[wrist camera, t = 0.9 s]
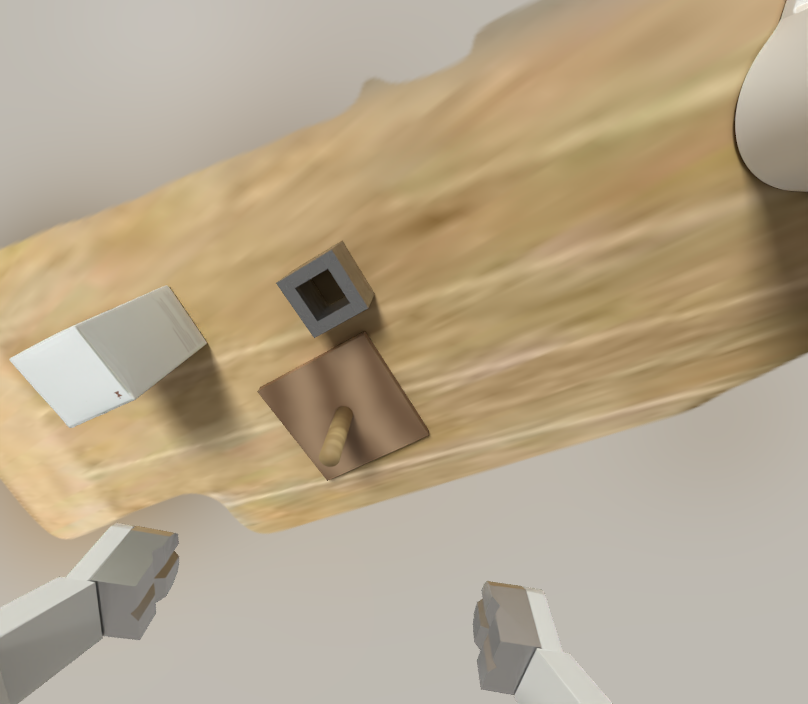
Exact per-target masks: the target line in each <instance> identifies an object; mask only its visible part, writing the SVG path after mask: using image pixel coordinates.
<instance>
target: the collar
mask: <svg viewBox="0 0 808 704" xmlns="http://www.w3.org/2000/svg"><path fill="white" fill-rule="evenodd" d="M326 269H329V271H330V273H331V274H332V276H333V277H334V279H335V280H336V282H337V284H338V285H339V287H340V288H341V290H342V291H343V293H344V294H345V297H343V298H341V299H340V300H338V301H336V302H334V303H332V304H331V305H328V303H327V302H326V300H325V299H324V297H323V296H322V294H321V293H320V291H319V290H318V288H317V287H316V285H315V284H314V282H313V281H312V279H311V278H313V277H315V276H316V275H318V274H320V273H321V272H323V271H325V270H326ZM276 284H277V285H278V287H279V288H280V289H281V291H282V292H283V294H284V295H285V297H286V298H287V300H288V301H289V302H290V304H291V305H292V307H293V308H294V310H295V311H296V312H297V314H298V315H299V317H300V318H301V320H302V321H303V323H304V324H305V325H306V327H307V328H308V330H309V331H310V333H311V334H312V336H313V337H314V338H315V337H317V336H319V335H321V334H322V333H324V332H326V331H328V330H330V329H332V328H333V327H335V326H337V325H339V324H341V323H342V322H344V321H346V320H348V319H350V318H352V317H353V316H355V315H357V314H359V313H361V312H362V311H364V310H366V309H368V308H369V305H370V303H371V301H372V298H373V296H374V292H373V290H372V288H371V287H370V285H369V284H368V282H367V280H366V279H365V277H364V275H363V274H362V272H361V270H360V269H359V267H358V266H357V264H356V262H355V261H354V259H353V257H352V256H351V254H350V253H349V251H348V249H347V248H346V246H345V244H344V243H343V241H341V242H339V243H337V244H336V245H334V246H333V247H331V248H329V249H328V250H326V251H324V252H323V253H321V254H319V255H318V256H316V257H314V258H313V259H311V260H309V261H308V262H306V263H304V264H303V265H301V266H299V267H298V268H296V269H295V270H293V271H291V272H290V273H289V274H288V275H286V276H285V277H284V278H282V279H281V280H280V281H278V282H277V283H276Z"/></svg>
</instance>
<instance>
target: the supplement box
mask: <svg viewBox="0 0 808 704" xmlns="http://www.w3.org/2000/svg"><path fill="white" fill-rule="evenodd" d="M206 344H207V342H206V341H205V339H204V338H203V336H202V335H201V333H200V332H199V330H198V329H197V327H196V326H195V324H194V323H193V321H192V320H191V318H190V317H189V315H188V314H187V312H186V311H185V309H184V308H183V306H182V305H181V303H180V302H179V300H178V299H177V298H176V296H175V294H174V293H173V292H172V290H171V289H170V288H169V286H167V285H166V286H163V287H161V288H159V289H156V290H154V291H152V292H149V293H147V294H145V295H143V296H140V297H138V298H136V299H133V300H131V301H129V302H127V303H124V304H122V305H120V306H117V307H115V308H113V309H111V310H108V311H106V312H104V313H101V314H99V315H97V316H94V317H92V318H90V319H88V320H85V321H83V322H81V323H78V324H76V325H74V326H71V327H69V328H67V329H65V330H63V331H61V332H59V333H57V334H55V335H53V336H51V337H49V338H47V339H45V340H43V341H41V342H39V343H37V344H35V345H34V346H32V347H30V348H28V349H26V350H24V351H22V352H21V353H19V354H17V355H15V356H13V357H12V358H10V361H11V362H12V363H13V365H14V366H15V367H16V368H17V369H18V370H19V371H20V373H21V374H22V375H23V376H24V377H25V378H26V379H27V380H28V382H29V383H30V384H31V385H32V386H33V387H34V388H35V390H36V391H37V392H38V393H39V394H40V395H41V396H42V397H43V398H44V400H45V401H46V402H47V403H48V404H49V405H50V406H51V407H52V408H53V409H54V411H55V412H56V413H57V414H58V415H59V416H60V417H61V419H62V420H63V421H64V422H65V423H66V425H67V426H68V427H69V428H72V427H75V426H77V425H79V424H81V423H84V422H86V421H88V420H90V419H93V418H95V417H97V416H100V415H102V414H105V413H107V412H108V411H111V410H113V409H115V408H117V407H120V406H122V405H124V404H126V403H129V402H131V401H134V400H135V399H137V398H138V397H139V396H140V395H142V394H143V393H144V392H146V391H147V390H148V389H150V388H151V387H152V386H153V385H155V384H156V383H157V382H158V381H160V380H161V379H162V378H164V377H165V376H166V375H167V374H169V373H170V372H171V371H173V370H174V369H175V368H176V367H178V366H179V365H180V364H182V363H183V362H184V361H185V360H187V359H188V358H189V357H191V356H192V355H193V354H194V353H196V352H197V351H198V350H199V349H201V348H202V347H203V346H205V345H206Z"/></svg>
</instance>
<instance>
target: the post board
mask: <svg viewBox="0 0 808 704" xmlns="http://www.w3.org/2000/svg"><path fill="white" fill-rule="evenodd" d="M257 392H258V393H259V394H260V396H261V397H262V398H263V399H264V401H265V402H266V403H267V405H268V406H269V407H270V408H271V410H272V411H273V412H274V413H275V415H276V416H277V417H278V418H279V420H280V421H281V422H282V424H283V425H284V426H285V427H286V429H287V430H288V431H289V432H290V434H291V435H292V436H293V438H294V439H295V440H296V441H297V443H298V444H299V445H300V446H301V448H302V449H303V450H304V452H305V453H306V454H307V455H308V457H309V458H310V459H311V460H312V462H313V463H314V464H315V466H316V467H317V468H318V469H319V471H320V472H321V473H322V474H323V476H324V477H325V478H326V479H327V481H328V480H330V479H333V478H335V477H337V476H339V475H342V474H344V473H346V472H348V471H350V470H353V469H355V468H357V467H359V466H362V465H364V464H366V463H368V462H370V461H373V460H375V459H377V458H379V457H382V456H384V455H386V454H388V453H391V452H393V451H395V450H397V449H399V448H402V447H404V446H406V445H408V444H411V443H413V442H415V441H417V440H419V439H422V438H424V437H426V436H428V435H429V430H428V428H427V427H426V425H425V424H424V422H423V420H422V419H421V417H420V416H419V414H418V413H417V411H416V410H415V408H414V406H413V405H412V403H411V402H410V400H409V399H408V397H407V396H406V394H405V392H404V391H403V389H402V388H401V386H400V385H399V383H398V382H397V380H396V378H395V377H394V375H393V374H392V372H391V371H390V369H389V368H388V366H387V364H386V363H385V361H384V360H383V358H382V357H381V355H380V354H379V352H378V350H377V349H376V347H375V346H374V344H373V343H372V341H371V340H370V338H369V336H368V335H367V333H366V332H365V331H364V332H363V333H361V334H359V335H357V336H355V337H353V338H351V339H350V340H348V341H346V342H344V343H342V344H340V345H338V346H336V347H335V348H333V349H331V350H329V351H327V352H325V353H323V354H322V355H320V356H318V357H316V358H314V359H312V360H310V361H308V362H307V363H305V364H303V365H301V366H299V367H297V368H295V369H294V370H292V371H290V372H288V373H286V374H284V375H282V376H281V377H279V378H277V379H275V380H273V381H271V382H269V383H267V384H266V385H264V386H262V387H260V389H259V390H258V391H257Z"/></svg>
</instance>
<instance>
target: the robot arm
mask: <svg viewBox="0 0 808 704" xmlns="http://www.w3.org/2000/svg"><path fill="white" fill-rule="evenodd" d="M735 131H736V140H737V145H738V148H739V151H740V154H741V156H742V158H743V160H744V162H745V164H746V165H747V167H748V168H749V170H750V171H751V172H752V173H753V174H754V175H755V176H756V177H757V178H759V179H760V180H761V181H763V182H765V183H766V184H768V185H770V186H773V187H776V188H779V189H783V190H789V191H803V192H808V0H787V1H786V4H785V7H784V10H783V13H782V17H781V20H780V22H779V24H778V25H777V27H776V29H775V30H774V32H773V34H772V35H771V36H770V38H769V39H768V41H767V42H766V43H765V45H764V46H763V48H762V49H761V51H760V52H759V54H758V55H757V57H756V58H755V60H754V62H753V64H752V66H751V68H750V70H749V72H748V74H747V76H746V78H745V81H744V83H743V86H742V89H741V92H740V95H739V99H738V104H737V109H736V118H735ZM178 544H179V541H178V534H176V533H172V532H167V531H161V530H156V529H151V528H145V527H140V526H134V525H127V524H122V523H116V524H114V525H112V526H111V527H109V529H108V530H107V531H106V532H105V533H104V534H103V535H102V536H101V538H100V539H99V540H98V541H97V542H96V543H95V544H94V546H93V547H92V548H91V549H90V550H89V551H88V552H87V553H86V555H85V556H84V557H83V558H82V559H81V560H80V561H79V563H78V564H77V565H76V566H75V567H74V568H73V570H72V571H71V572H70V573H69V574H68V575H67V576H66V577H57V578H56V579H54V580H52V581H50V582H48V583H46V584H44V585H42V586H41V587H38V588H36V589H34V590H33V591H31V592H29V593H27V594H25V595H23V596H21V597H19V598H17V599H15V600H14V601H12V602H10V603H8V604H6V605H4V606H2V607H0V704H18V703H19V702H20V701H22V700H23V699H24V698H26V697H27V696H28V695H30V694H31V693H32V692H34V691H35V690H36V689H37V688H39V687H40V686H41V685H43V684H44V683H45V682H47V681H48V680H49V679H50V678H52V677H53V676H54V675H56V674H57V673H58V672H59V671H61V670H62V669H63V668H65V667H66V666H67V665H68V664H70V663H71V662H72V661H74V660H75V659H76V658H78V657H79V656H80V655H82V654H83V653H84V652H85V651H87V650H88V649H89V648H91V647H92V646H93V645H94V644H96V643H97V642H98V641H100V640H101V639H102V636H108V637H117V638H127V639H135V640H140V639H141V637H142V636H143V634H144V632H145V631H146V629H147V627H148V626H149V624H150V622H151V621H152V619H153V617H154V616H155V614H156V604H155V603H156V602H158V601H159V600H161V599H162V598H164V597H166V596H167V594H168V592H169V590H170V589H171V587H172V585H173V582H174V580H175V577H176V574H177V572H178V566H179V556H178V554H177V553H176V552H175V551H174V550H175V548H176V547H177V545H178ZM482 597H483V599H482V600H480V601H479V602H477V605H476V608H475V612H474V619H473V632H474V642H475V643H476V645H477V646H478V647H479V649H480V650H481V651H480V654H479V656H478V659H477V665H478V672H479V679H480V687H481V689H483V690H488V691H494V692H500V693H506V694H511V695H514V698H515V700H516V702H517V703H518V704H613V703H612V702H611V701H610V700H609V699H608V697H607V696H606V695H605V694H604V693H603V692H602V690H601V689H600V688H599V687H598V686H597V685H596V684H595V682H593V680H592V679H591V678H590V677H589V675H588V674H587V673H586V672H585V671H584V670H583V669H582V667H581V666H580V665H579V664H578V663H577V662H576V660H575V659H574V658H573V657H572V656H571V655H570V653H566V652H563V649H562V646H561V642H560V639H559V636H558V633H557V630H556V627H555V624H554V621H553V618H552V614H551V611H550V608H549V605H548V602H547V599H546V596H545V593H544V592H543V591H542V590H541V589H535V588H528V587H522V586H518V585H511V584H503V583H496V582H489V581H487V582H486V583H485V584H484V586H483V588H482Z"/></svg>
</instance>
